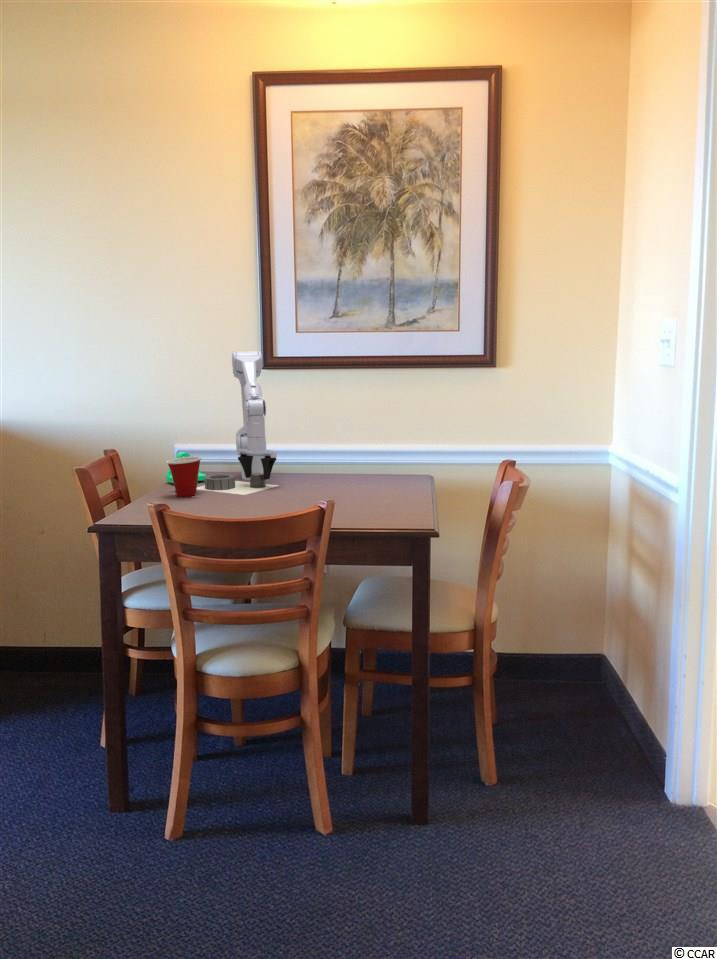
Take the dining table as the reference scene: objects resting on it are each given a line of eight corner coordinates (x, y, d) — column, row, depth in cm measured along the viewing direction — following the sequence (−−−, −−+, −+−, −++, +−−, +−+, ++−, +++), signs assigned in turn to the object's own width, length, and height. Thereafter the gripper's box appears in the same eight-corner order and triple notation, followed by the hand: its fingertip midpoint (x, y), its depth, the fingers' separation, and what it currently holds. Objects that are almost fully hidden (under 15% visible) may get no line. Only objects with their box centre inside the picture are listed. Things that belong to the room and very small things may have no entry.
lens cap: (256, 484, 287) (256, 472, 286) (268, 486, 284) (268, 473, 284) (247, 487, 283) (246, 474, 282) (259, 488, 280) (258, 475, 279)
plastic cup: (170, 493, 279) (168, 456, 276) (204, 492, 280) (202, 455, 277) (165, 500, 268) (163, 461, 266) (201, 498, 269) (199, 460, 267)
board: (227, 482, 297) (227, 469, 296) (279, 487, 285) (279, 474, 284) (191, 491, 282) (190, 478, 281) (244, 497, 270) (244, 483, 269)
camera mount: (174, 486, 291) (172, 456, 289) (166, 483, 297) (164, 453, 296) (207, 482, 297) (206, 452, 296) (199, 479, 304) (197, 450, 302)
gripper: (230, 436, 281) (232, 478, 283) (266, 439, 273) (267, 481, 276) (244, 434, 287) (246, 475, 289) (280, 436, 279) (281, 478, 282)
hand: (257, 478), depth 283 cm, fingers open, 7 cm apart
